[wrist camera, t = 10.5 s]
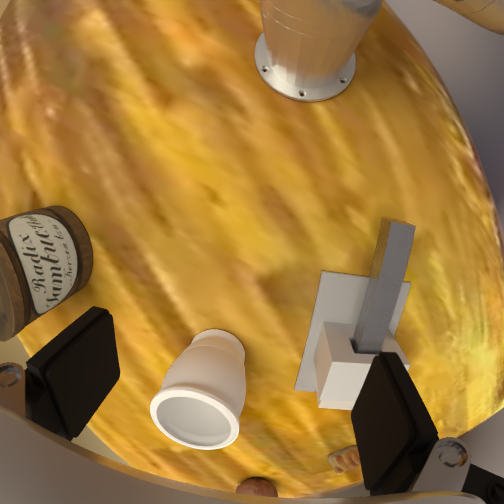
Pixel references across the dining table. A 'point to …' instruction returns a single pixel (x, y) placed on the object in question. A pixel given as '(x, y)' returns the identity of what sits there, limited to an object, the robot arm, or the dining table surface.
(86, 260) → the wooden container
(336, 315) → the bearing block
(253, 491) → the onion
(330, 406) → the block
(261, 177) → the dining table surface
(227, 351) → the jar
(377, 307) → the shaft
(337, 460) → the pastry
